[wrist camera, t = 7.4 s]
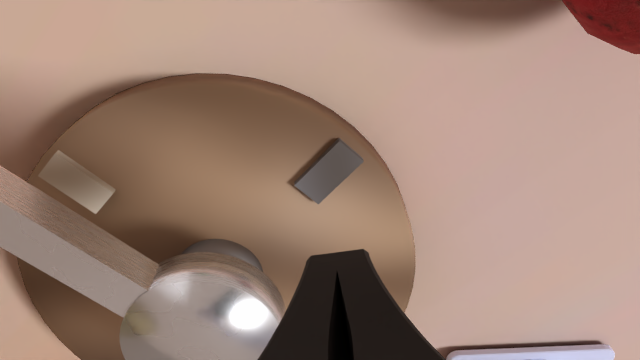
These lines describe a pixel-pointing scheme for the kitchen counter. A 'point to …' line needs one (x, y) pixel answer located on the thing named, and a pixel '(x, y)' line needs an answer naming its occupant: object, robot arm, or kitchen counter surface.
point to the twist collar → (144, 283)
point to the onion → (610, 21)
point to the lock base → (218, 190)
